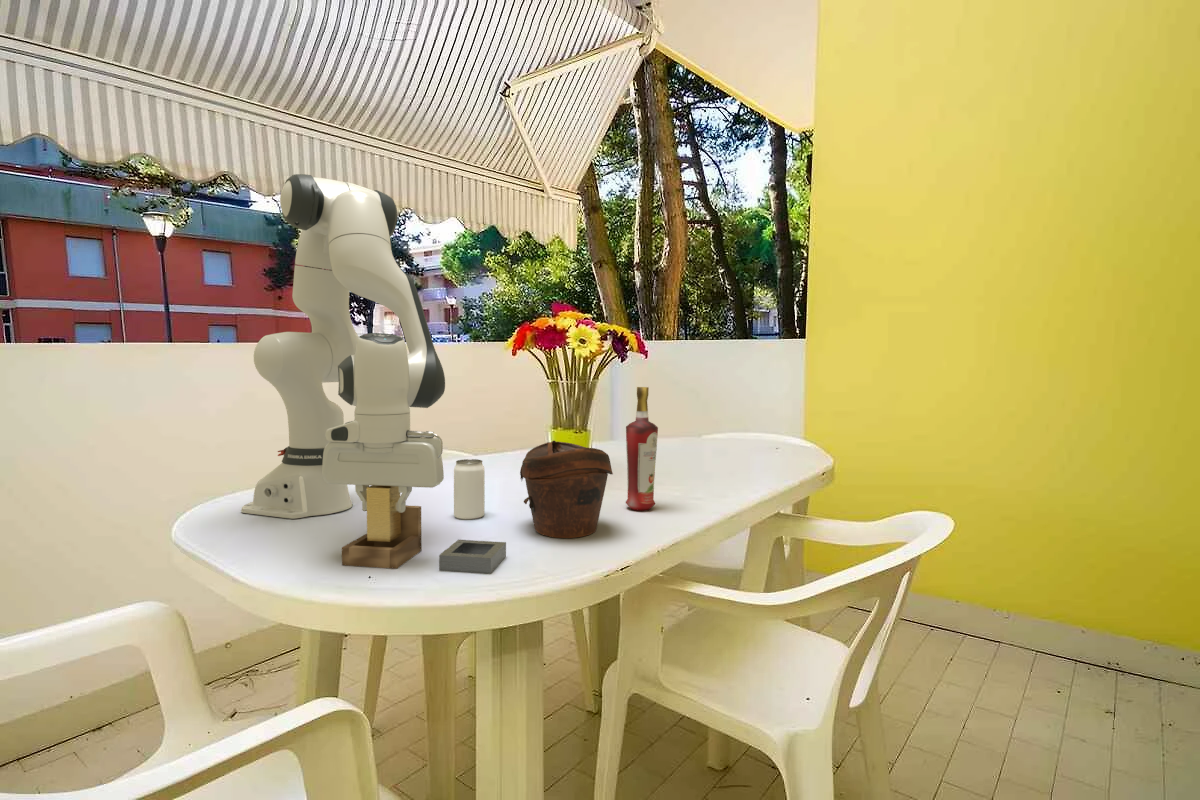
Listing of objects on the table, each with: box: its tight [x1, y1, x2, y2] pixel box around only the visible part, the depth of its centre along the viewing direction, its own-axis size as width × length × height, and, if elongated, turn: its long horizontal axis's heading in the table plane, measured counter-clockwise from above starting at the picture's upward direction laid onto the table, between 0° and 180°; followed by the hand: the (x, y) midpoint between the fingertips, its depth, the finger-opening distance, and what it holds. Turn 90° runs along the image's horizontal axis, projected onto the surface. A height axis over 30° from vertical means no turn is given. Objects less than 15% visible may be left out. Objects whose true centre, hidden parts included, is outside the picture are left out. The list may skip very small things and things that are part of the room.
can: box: [453, 458, 486, 521], centre depth 133 cm, size 6×6×12 cm
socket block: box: [438, 539, 507, 575], centre depth 103 cm, size 9×9×2 cm
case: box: [519, 440, 614, 539], centre depth 124 cm, size 18×20×18 cm
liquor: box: [625, 386, 659, 512], centre depth 142 cm, size 7×7×28 cm
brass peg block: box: [366, 485, 401, 542], centre depth 105 cm, size 4×4×13 cm
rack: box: [341, 504, 422, 570], centre depth 105 cm, size 10×10×8 cm
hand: (384, 511), depth 105 cm, fingers closed on brass peg block, 4 cm apart
